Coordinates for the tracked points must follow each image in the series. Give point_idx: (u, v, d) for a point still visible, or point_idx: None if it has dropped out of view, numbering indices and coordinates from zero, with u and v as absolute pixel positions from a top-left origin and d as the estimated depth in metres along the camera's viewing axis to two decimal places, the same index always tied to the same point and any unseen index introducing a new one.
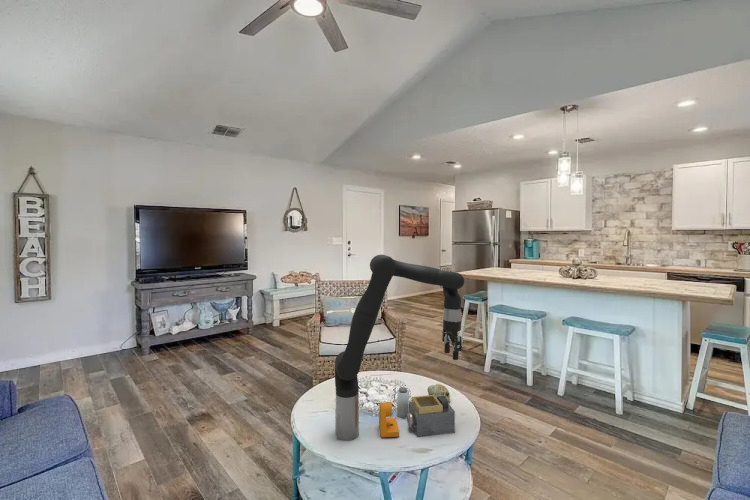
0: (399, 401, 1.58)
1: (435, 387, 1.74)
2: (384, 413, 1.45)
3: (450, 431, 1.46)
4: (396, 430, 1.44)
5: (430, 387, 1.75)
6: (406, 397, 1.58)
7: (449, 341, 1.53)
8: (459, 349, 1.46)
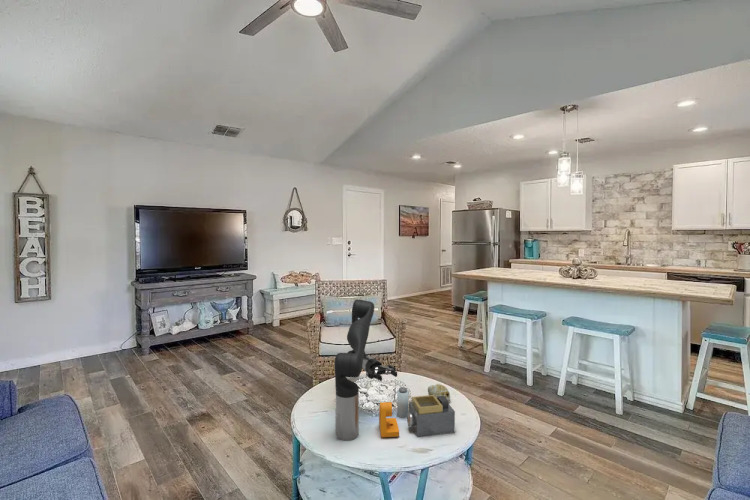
0: (399, 401, 1.58)
1: (435, 387, 1.74)
2: (384, 413, 1.45)
3: (450, 431, 1.46)
4: (396, 430, 1.44)
5: (430, 387, 1.75)
6: (406, 397, 1.58)
7: (382, 369, 1.75)
8: None
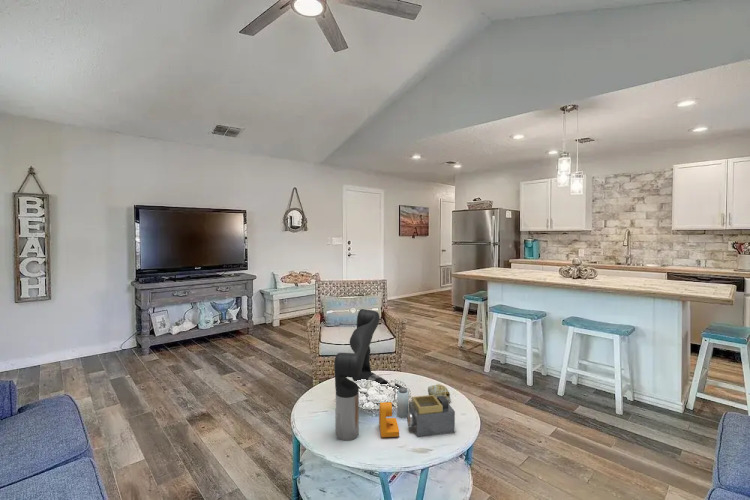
0: (399, 401, 1.58)
1: (435, 387, 1.74)
2: (384, 413, 1.45)
3: (450, 431, 1.46)
4: (396, 430, 1.44)
5: (430, 387, 1.74)
6: (406, 397, 1.58)
7: None
8: None
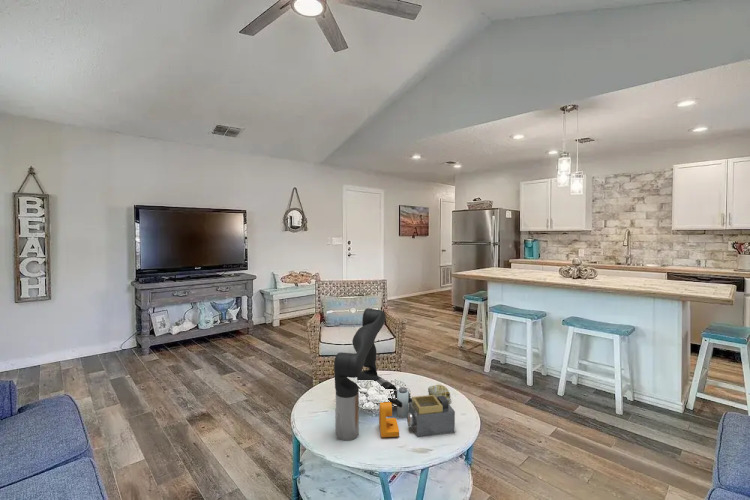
0: None
1: (436, 387, 1.74)
2: (384, 413, 1.45)
3: (450, 431, 1.46)
4: (396, 430, 1.44)
5: (431, 388, 1.74)
6: (406, 397, 1.58)
7: None
8: None
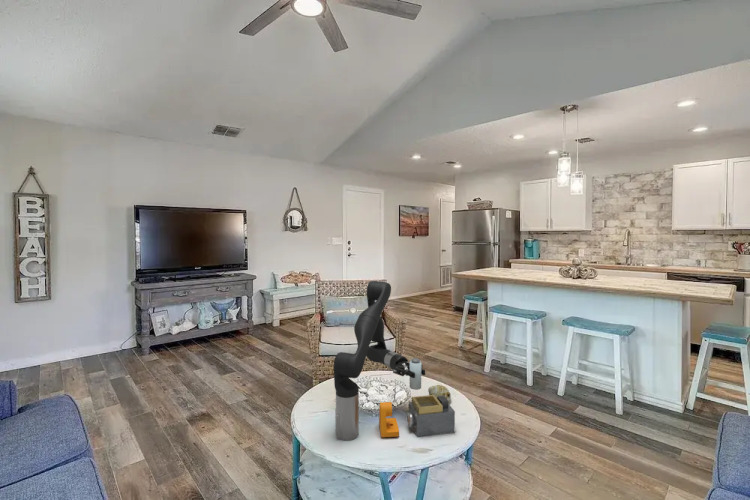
0: None
1: (436, 388, 1.74)
2: (384, 413, 1.45)
3: (450, 431, 1.46)
4: (396, 430, 1.44)
5: (431, 388, 1.74)
6: (419, 367, 1.52)
7: (409, 366, 1.58)
8: None
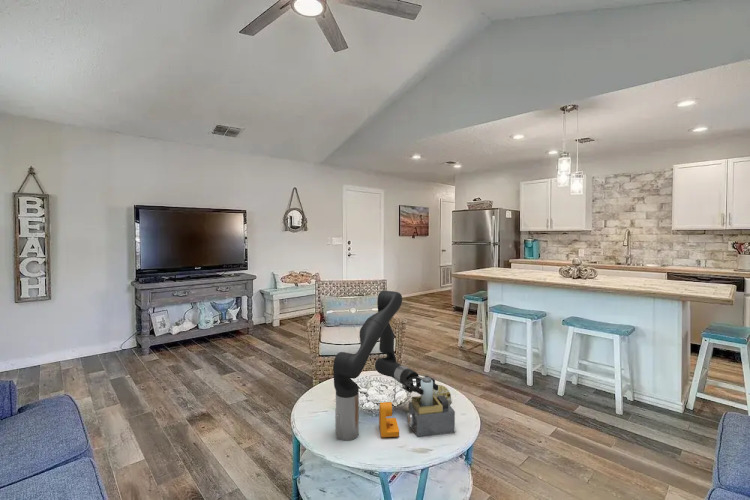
0: (423, 391, 1.48)
1: None
2: (384, 413, 1.45)
3: (450, 431, 1.46)
4: (396, 430, 1.44)
5: None
6: (430, 387, 1.48)
7: (420, 381, 1.53)
8: None
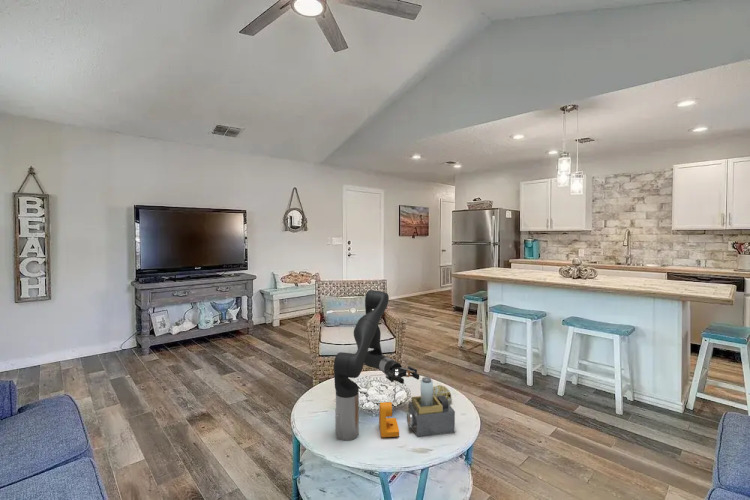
0: (423, 392, 1.48)
1: (437, 388, 1.73)
2: (384, 413, 1.45)
3: (450, 431, 1.46)
4: (396, 430, 1.44)
5: None
6: (430, 387, 1.47)
7: (402, 371, 1.64)
8: None
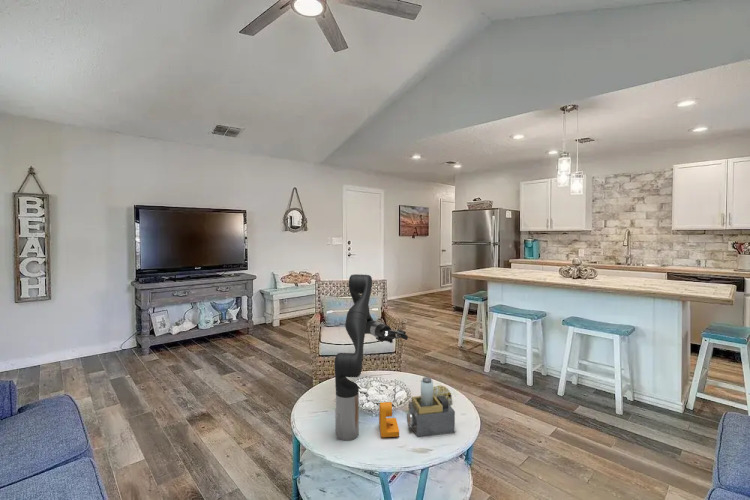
0: (423, 392, 1.47)
1: (437, 388, 1.73)
2: (384, 413, 1.45)
3: (450, 431, 1.46)
4: (396, 430, 1.44)
5: None
6: (431, 387, 1.47)
7: (392, 333, 1.73)
8: None
